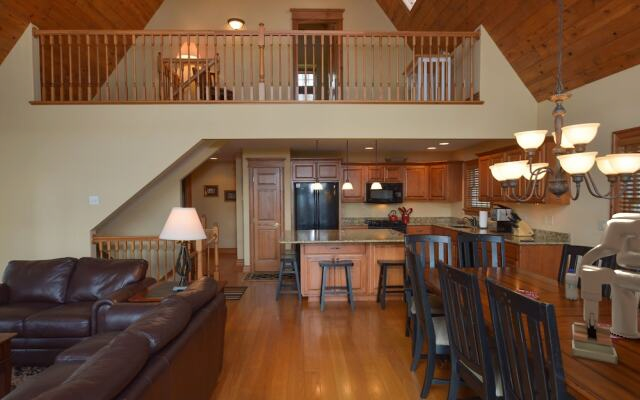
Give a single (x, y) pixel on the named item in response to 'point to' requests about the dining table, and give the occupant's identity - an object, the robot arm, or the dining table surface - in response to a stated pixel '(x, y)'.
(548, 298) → the dining table surface
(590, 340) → the bench board
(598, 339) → the tile
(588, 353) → the box
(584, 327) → the tan long block
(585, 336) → the tile
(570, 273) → the bottle
